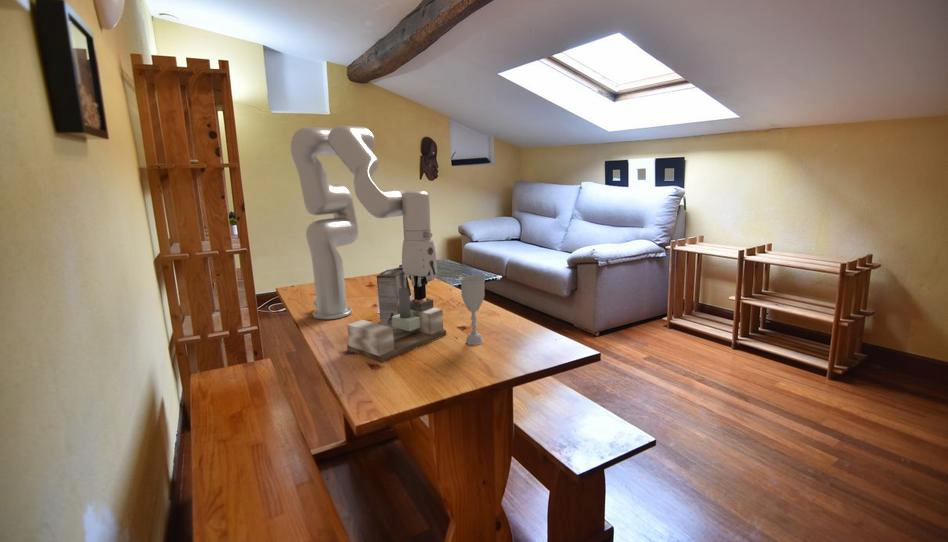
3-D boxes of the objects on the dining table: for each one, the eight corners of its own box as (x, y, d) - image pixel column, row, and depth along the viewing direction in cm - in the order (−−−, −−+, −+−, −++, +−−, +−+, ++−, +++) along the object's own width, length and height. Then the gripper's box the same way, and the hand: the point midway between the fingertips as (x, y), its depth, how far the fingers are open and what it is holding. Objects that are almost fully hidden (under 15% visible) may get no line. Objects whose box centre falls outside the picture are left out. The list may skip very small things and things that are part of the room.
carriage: (392, 326, 138) (389, 289, 136) (402, 322, 141) (400, 286, 139) (409, 331, 134) (407, 292, 131) (420, 327, 137) (418, 289, 134)
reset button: (413, 307, 141) (412, 299, 141) (421, 304, 143) (420, 297, 143) (421, 309, 139) (420, 301, 139) (429, 306, 142) (428, 299, 141)
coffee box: (390, 317, 158) (387, 269, 155) (409, 318, 157) (406, 269, 153) (379, 326, 149) (376, 275, 146) (399, 327, 148) (396, 276, 145)
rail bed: (347, 350, 131) (344, 315, 129) (411, 326, 149) (410, 294, 147) (382, 362, 122) (379, 324, 120) (446, 335, 141) (444, 301, 138)
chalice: (490, 338, 137) (489, 276, 133) (483, 347, 131) (481, 281, 127) (466, 336, 139) (464, 274, 135) (457, 344, 133) (455, 280, 129)
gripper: (446, 236, 135) (448, 299, 139) (408, 231, 144) (411, 291, 148) (427, 239, 129) (430, 306, 133) (389, 235, 138) (392, 297, 143)
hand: (420, 298), depth 141 cm, fingers closed
